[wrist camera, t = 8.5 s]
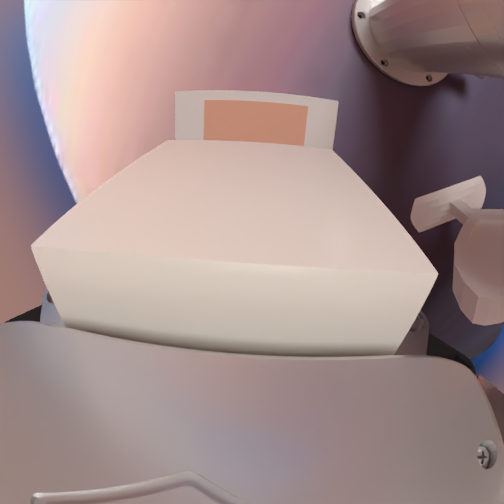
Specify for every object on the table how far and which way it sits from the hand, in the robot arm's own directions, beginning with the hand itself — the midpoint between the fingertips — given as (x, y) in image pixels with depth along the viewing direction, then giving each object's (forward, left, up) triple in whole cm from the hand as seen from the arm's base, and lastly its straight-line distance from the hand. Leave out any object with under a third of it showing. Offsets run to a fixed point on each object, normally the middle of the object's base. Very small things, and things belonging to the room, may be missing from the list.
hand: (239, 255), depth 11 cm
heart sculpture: (-26, +3, -20) cm, 33 cm away
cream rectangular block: (0, 0, -3) cm, 3 cm away
